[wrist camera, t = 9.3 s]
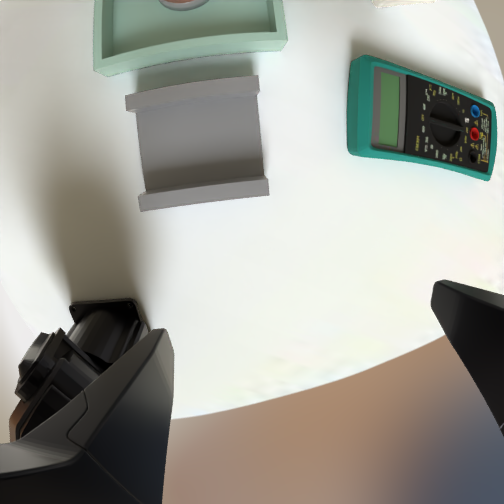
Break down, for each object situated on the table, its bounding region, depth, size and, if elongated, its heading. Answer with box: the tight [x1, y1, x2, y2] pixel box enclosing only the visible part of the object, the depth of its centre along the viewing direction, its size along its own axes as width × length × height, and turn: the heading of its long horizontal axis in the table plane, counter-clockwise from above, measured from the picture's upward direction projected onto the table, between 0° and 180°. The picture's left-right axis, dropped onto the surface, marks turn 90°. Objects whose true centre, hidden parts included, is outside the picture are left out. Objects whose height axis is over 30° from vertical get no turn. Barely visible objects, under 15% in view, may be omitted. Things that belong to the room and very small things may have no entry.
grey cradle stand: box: [125, 75, 269, 212], centre depth 18 cm, size 8×7×2 cm
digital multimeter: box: [347, 55, 497, 181], centre depth 18 cm, size 7×15×3 cm, turn 88°
